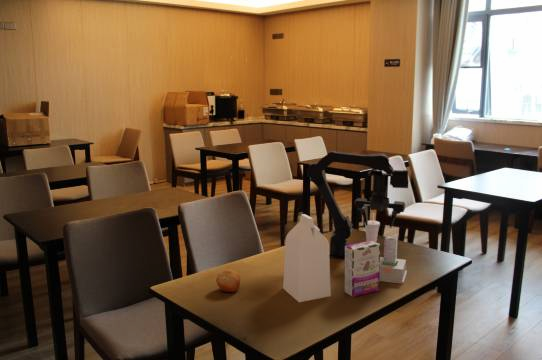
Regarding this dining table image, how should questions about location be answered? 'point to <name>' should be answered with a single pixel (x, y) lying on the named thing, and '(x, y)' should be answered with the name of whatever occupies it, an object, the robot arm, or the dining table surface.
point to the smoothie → (372, 230)
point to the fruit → (228, 280)
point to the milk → (306, 262)
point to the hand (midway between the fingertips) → (378, 226)
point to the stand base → (393, 271)
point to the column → (390, 251)
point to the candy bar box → (362, 268)
